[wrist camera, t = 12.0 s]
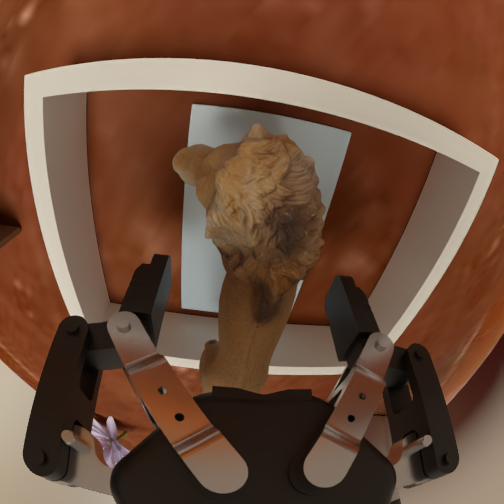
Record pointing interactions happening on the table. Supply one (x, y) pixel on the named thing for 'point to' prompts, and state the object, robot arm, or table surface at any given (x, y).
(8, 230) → the photo frame
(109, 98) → the table surface
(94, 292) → the low pen
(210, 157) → the lion figurine
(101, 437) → the water lily
